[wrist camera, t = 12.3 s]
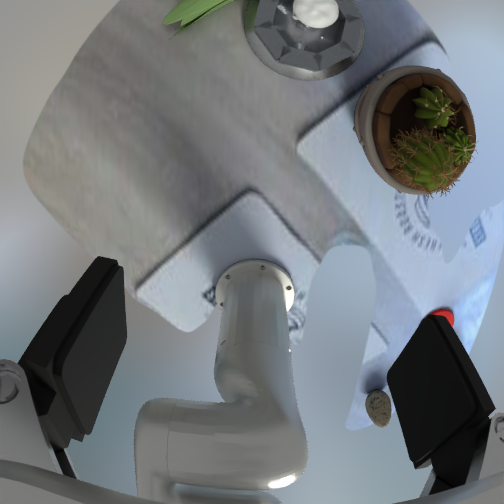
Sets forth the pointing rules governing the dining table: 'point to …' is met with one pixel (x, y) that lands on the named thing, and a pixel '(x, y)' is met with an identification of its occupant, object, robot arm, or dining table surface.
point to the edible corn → (193, 11)
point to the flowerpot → (415, 129)
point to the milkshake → (313, 15)
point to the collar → (303, 40)
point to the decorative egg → (378, 407)
